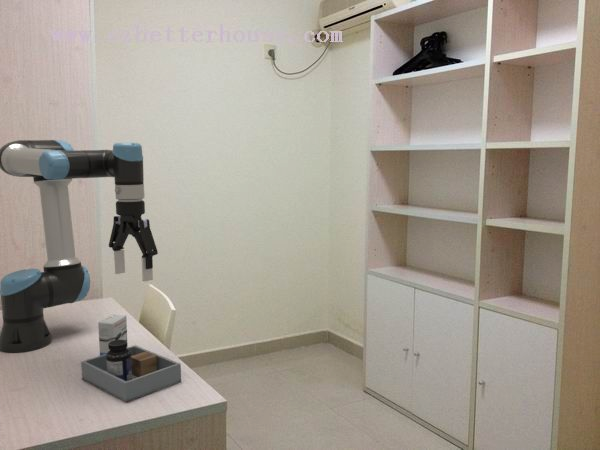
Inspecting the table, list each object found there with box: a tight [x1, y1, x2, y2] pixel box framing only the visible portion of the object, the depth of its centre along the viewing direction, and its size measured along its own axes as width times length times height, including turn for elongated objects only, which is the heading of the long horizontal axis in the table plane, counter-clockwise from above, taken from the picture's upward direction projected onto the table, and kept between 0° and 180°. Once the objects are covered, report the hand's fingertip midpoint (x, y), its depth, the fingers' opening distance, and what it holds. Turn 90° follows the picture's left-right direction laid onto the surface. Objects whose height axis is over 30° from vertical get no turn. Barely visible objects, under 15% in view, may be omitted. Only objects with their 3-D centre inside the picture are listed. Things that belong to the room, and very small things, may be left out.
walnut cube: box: [131, 352, 157, 377], centre depth 154 cm, size 5×5×5 cm
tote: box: [81, 344, 182, 404], centre depth 151 cm, size 22×17×5 cm
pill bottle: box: [106, 340, 132, 381], centre depth 148 cm, size 6×6×11 cm
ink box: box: [97, 314, 129, 356], centre depth 168 cm, size 8×5×12 cm, turn 168°
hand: (133, 276), depth 156 cm, fingers open, 13 cm apart
